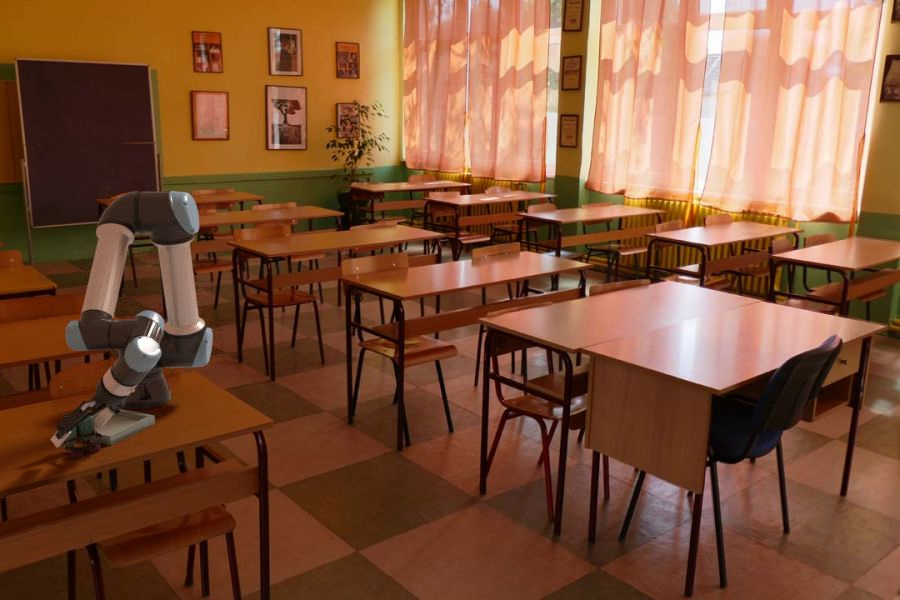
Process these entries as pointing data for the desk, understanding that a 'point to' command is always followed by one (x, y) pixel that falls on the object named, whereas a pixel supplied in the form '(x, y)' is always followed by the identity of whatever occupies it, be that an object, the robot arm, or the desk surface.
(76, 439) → the binoculars
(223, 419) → the desk surface
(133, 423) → the tray
